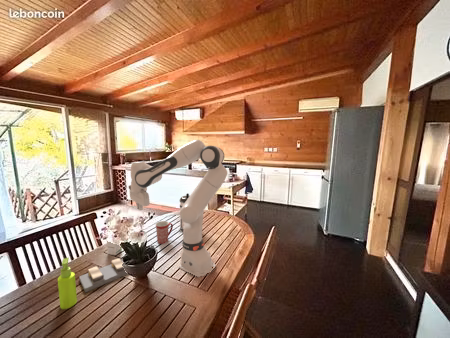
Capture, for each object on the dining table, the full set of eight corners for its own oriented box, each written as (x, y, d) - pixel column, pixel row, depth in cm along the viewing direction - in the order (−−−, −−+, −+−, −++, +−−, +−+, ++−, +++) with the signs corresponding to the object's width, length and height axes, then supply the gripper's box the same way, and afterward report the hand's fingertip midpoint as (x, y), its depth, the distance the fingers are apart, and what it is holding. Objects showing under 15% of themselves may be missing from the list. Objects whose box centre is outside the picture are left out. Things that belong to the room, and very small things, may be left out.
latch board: (134, 270, 112) (134, 266, 111) (85, 292, 95) (84, 287, 95) (126, 261, 120) (125, 257, 120) (79, 279, 103) (79, 274, 103)
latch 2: (126, 268, 109) (126, 266, 109) (117, 272, 106) (117, 269, 106) (119, 259, 116) (119, 257, 116) (111, 262, 113) (110, 260, 113)
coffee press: (201, 229, 166) (201, 193, 161) (183, 234, 155) (183, 197, 151) (190, 222, 179) (190, 189, 174) (173, 226, 169) (173, 192, 164)
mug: (159, 245, 138) (159, 227, 136) (153, 241, 145) (153, 223, 143) (175, 240, 147) (175, 222, 145) (169, 235, 153) (169, 218, 151)
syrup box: (115, 255, 126) (114, 233, 124) (107, 254, 127) (106, 232, 125) (121, 250, 131) (120, 229, 129) (113, 249, 132) (112, 228, 130)
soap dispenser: (77, 295, 94) (74, 255, 91) (76, 305, 88) (72, 263, 85) (61, 300, 91) (57, 258, 88) (59, 311, 85) (54, 267, 82)
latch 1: (103, 278, 101) (103, 275, 101) (93, 282, 98) (93, 279, 98) (97, 267, 109) (97, 265, 108) (88, 271, 105) (87, 269, 105)
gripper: (152, 190, 118) (152, 212, 120) (137, 184, 132) (138, 204, 134) (141, 191, 114) (142, 215, 116) (127, 185, 128) (128, 206, 130)
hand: (139, 209), depth 125 cm, fingers closed
